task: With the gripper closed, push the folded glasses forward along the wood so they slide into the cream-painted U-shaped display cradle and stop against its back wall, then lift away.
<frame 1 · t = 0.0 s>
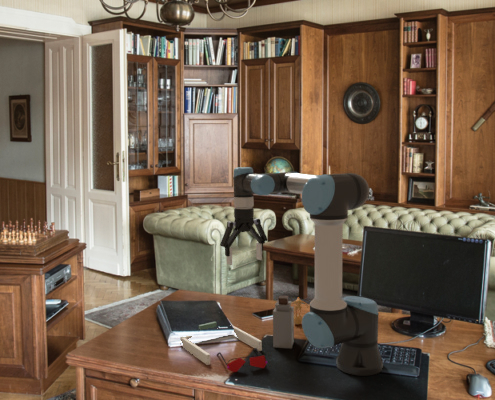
hand: (244, 262, 215), 28 cm above the table, fingers open, 13 cm apart
display cradle: (220, 348, 202), on the table
figurine: (298, 325, 225), on the table
glasses: (241, 363, 191), on the table
perfume bottle: (283, 344, 205), on the table
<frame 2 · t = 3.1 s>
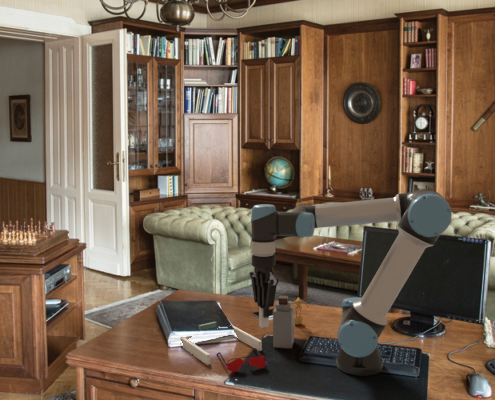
hand: (263, 326, 177), 16 cm above the table, fingers closed
nothing on the table moved.
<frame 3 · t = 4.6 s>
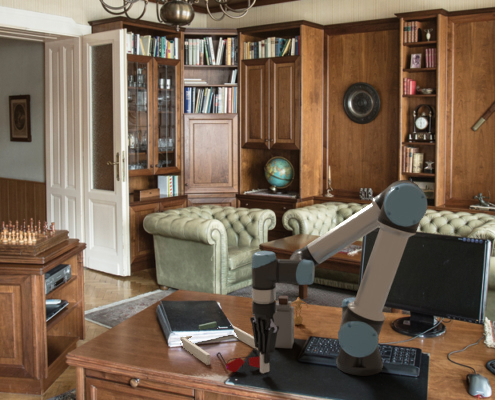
hand: (264, 371, 179), 1 cm above the table, fingers closed
nothing on the table moved.
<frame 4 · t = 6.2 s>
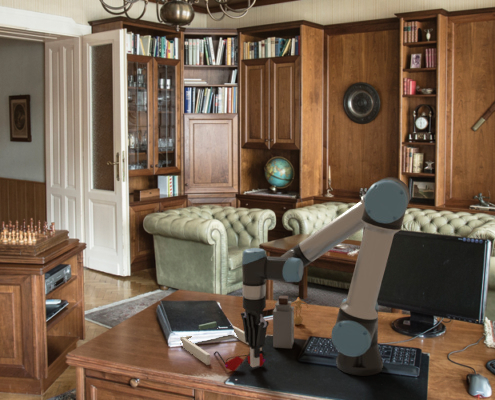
hand: (254, 365, 183), 1 cm above the table, fingers closed
glasses: (238, 361, 191), on the table
everything else where it was.
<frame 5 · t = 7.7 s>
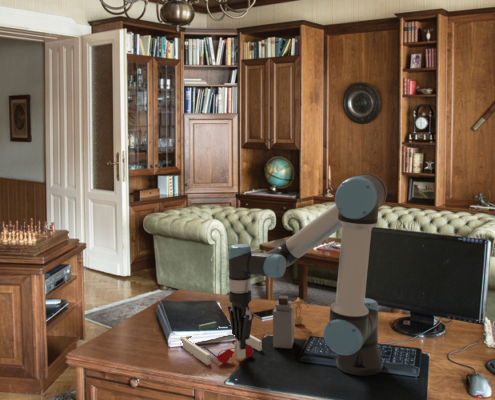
hand: (241, 357, 190), 1 cm above the table, fingers closed
glasses: (226, 354, 198), on the table
everything else where it was.
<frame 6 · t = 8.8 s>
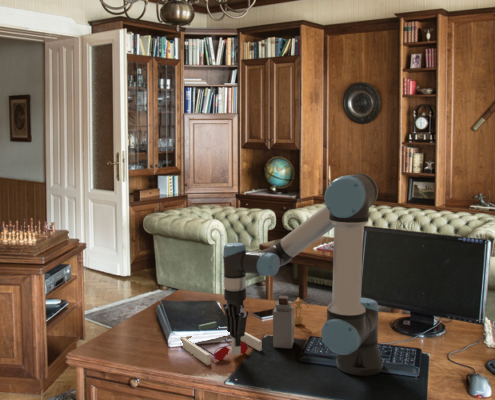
hand: (236, 354, 193), 1 cm above the table, fingers closed
glasses: (220, 352, 200), on the table
everything else where it was.
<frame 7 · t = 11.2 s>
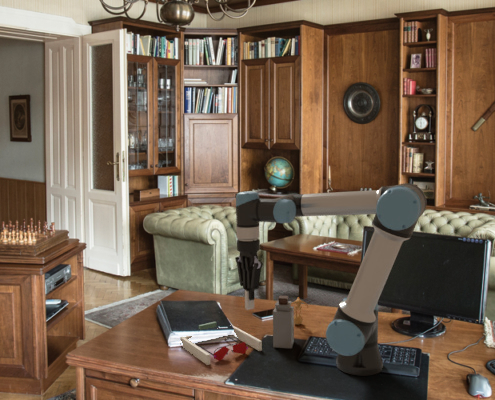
hand: (249, 308, 185), 20 cm above the table, fingers closed
nothing on the table moved.
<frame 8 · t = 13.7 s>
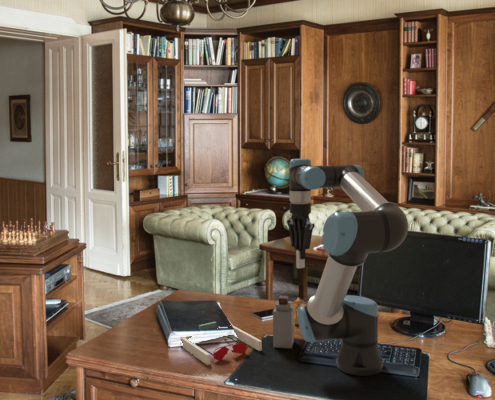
hand: (300, 267, 200), 29 cm above the table, fingers closed
nothing on the table moved.
at the end: glasses inside the target area (3.7 cm from its centre), on the table; glasses moved 12.6 cm from its start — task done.
